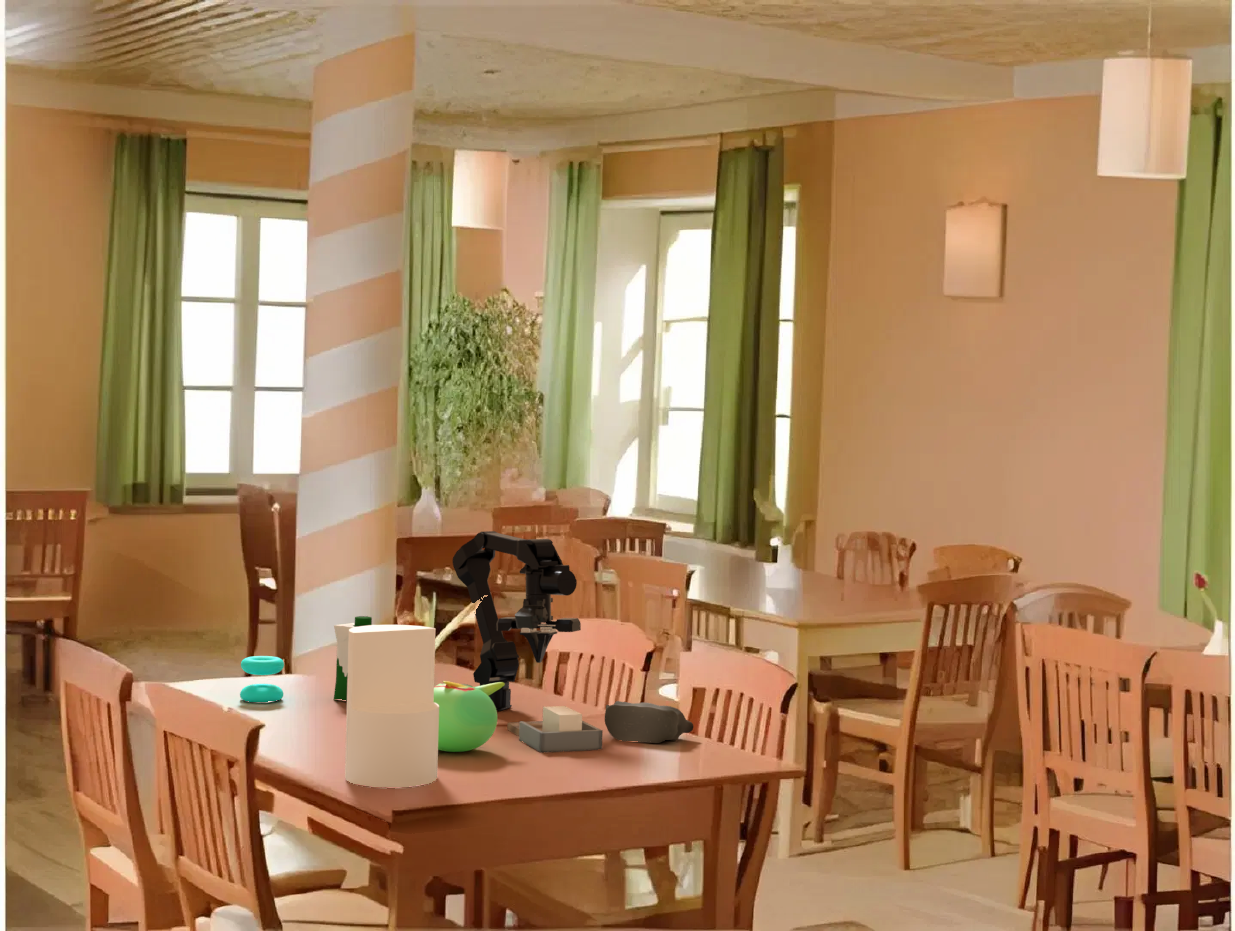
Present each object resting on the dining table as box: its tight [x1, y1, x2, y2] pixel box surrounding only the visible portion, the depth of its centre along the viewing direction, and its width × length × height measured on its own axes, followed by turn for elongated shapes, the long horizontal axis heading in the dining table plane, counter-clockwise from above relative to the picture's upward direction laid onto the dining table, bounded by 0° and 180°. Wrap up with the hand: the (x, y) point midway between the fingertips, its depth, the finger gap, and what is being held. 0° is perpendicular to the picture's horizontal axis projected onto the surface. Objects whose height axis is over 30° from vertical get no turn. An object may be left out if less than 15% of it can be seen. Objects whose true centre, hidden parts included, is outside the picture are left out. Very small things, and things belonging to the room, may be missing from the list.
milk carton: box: [333, 615, 374, 701], centre depth 400 cm, size 9×9×20 cm
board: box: [506, 720, 543, 736], centre depth 366 cm, size 12×11×2 cm
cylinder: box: [344, 624, 439, 787], centre depth 317 cm, size 17×17×28 cm
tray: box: [518, 720, 604, 754], centre depth 354 cm, size 14×14×4 cm
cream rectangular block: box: [542, 705, 583, 732], centre depth 353 cm, size 7×5×10 cm
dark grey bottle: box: [604, 700, 694, 744], centre depth 364 cm, size 18×11×8 cm, turn 67°
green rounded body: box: [434, 680, 505, 753], centre depth 345 cm, size 18×17×15 cm
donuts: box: [239, 655, 285, 703], centre depth 396 cm, size 10×10×10 cm
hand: (538, 662), depth 383 cm, fingers closed
